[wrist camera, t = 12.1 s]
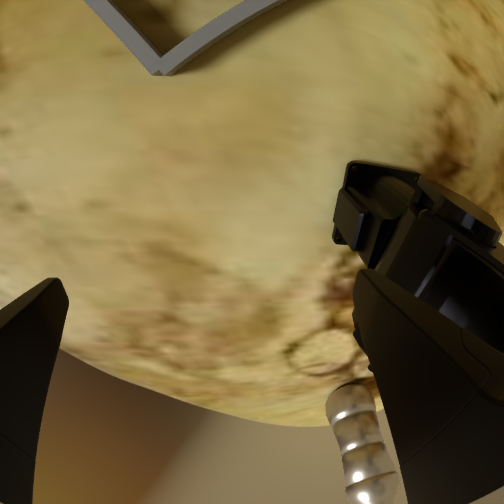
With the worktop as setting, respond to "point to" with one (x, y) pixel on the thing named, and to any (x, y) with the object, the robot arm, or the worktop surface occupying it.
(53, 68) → the worktop surface
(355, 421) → the plastic bottle
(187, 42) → the grey u-shaped bar
